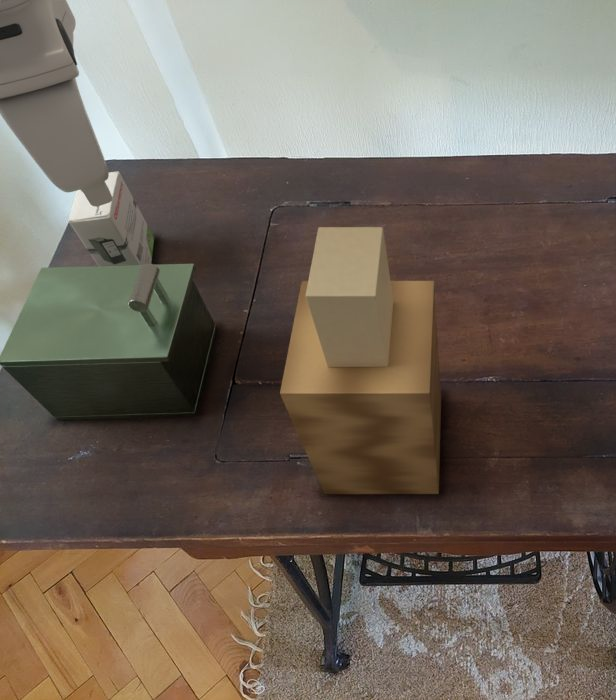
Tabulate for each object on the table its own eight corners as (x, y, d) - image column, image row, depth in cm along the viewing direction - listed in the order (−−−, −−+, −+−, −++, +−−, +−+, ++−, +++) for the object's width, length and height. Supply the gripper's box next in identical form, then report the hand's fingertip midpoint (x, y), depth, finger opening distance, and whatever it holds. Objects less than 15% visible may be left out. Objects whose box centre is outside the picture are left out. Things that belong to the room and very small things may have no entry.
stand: (324, 494, 68) (279, 393, 52) (337, 396, 75) (301, 280, 59) (438, 494, 68) (429, 393, 52) (441, 396, 75) (434, 280, 59)
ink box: (119, 242, 90) (77, 173, 80) (156, 237, 90) (119, 168, 81) (111, 288, 85) (65, 221, 75) (150, 283, 85) (110, 215, 76)
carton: (327, 367, 53) (305, 296, 46) (337, 301, 57) (318, 226, 50) (388, 367, 53) (375, 296, 46) (393, 301, 57) (382, 226, 50)
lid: (196, 268, 72) (180, 235, 68) (170, 361, 65) (150, 330, 61) (44, 272, 72) (19, 239, 68) (1, 366, 64) (-30, 336, 60)
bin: (217, 328, 81) (187, 268, 72) (196, 416, 74) (160, 362, 65) (91, 331, 81) (45, 272, 72) (57, 420, 73) (1, 366, 64)
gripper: (-63, -36, 51) (32, 119, 62) (-31, 94, 41) (75, 251, 52) (23, -54, 53) (100, 100, 64) (74, 66, 42) (155, 224, 54)
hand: (89, 169), depth 58 cm, fingers open, 8 cm apart
